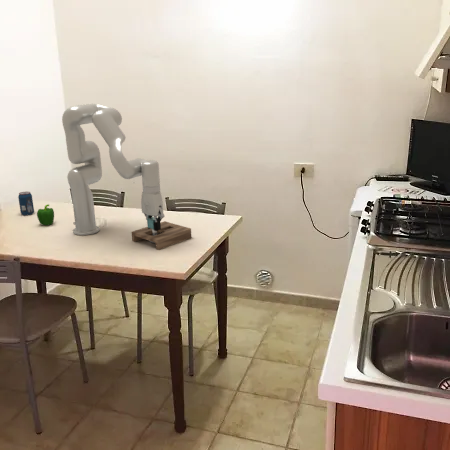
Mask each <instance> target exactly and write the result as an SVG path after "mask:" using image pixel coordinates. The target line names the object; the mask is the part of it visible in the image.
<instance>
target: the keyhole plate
mask: <svg viewBox="0 0 450 450" xmlns="http://www.w3.org/2000/svg"><path fill="white" fill-rule="evenodd" d="M160 224H161V229H160V230H157V235H155V236H152V229H151V228H150V229H148V226H146V227H142V228H139V229H136V230H132V231H131V232H130V234H131V242H132V243H133V242H138V241H141V240H147V241H148V242H150V241H152V242H155V243H154V244H155V250H157V251H160V250H162V249H165V248H168V247H170V246H172V245H175V244H179V243H181V242H184V241H187V240H189V239H191V238H192V228H190V227H187V226H183V225H179V224H176V223H173V222H169V221H160Z"/></svg>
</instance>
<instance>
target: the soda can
mask: <svg viewBox="0 0 450 450" xmlns="http://www.w3.org/2000/svg"><path fill="white" fill-rule="evenodd" d="M17 198H18V205H19V209H20V214H21V215H22V216H26V217H27V216H28V217H29V216H33V214H34V213H35V207H34V202H33V195H32V193H31V191H21V192H19V193H18V197H17Z"/></svg>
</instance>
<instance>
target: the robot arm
mask: <svg viewBox="0 0 450 450" xmlns="http://www.w3.org/2000/svg"><path fill="white" fill-rule="evenodd" d="M61 120H62V121H61V122H62V127H63V130H64V135H65V143H66V150H67V151H66V152H67V157H68V161H69V162H70V163H72V164H74V165H80V164H83V165H80V166H75V167H73V168H71V169H70V170H69V171H68V173H67V176H66V178H67V182H68V185H69V188H70V191H71V194H70V195H71V200H72V208H73V214H74V215H73V216H74V222H73V225H74V226H75V228H73V230H72V233H73V234H74V235H76V236H89V235H90V236H91V235H93V234H94V235H95V234H97V233H98V232H99V231H100V230H101V229H100V226H98V225H97V222H96V213H95V204H94V195H93V191H92V190H91V188H90V187H89V186H90V185H93V184H95V183H98V182H99V181H100V180H102V178H103V177H102V176H103V169H102V167H103V166H102V160H101V159H102V158H101V152H100V148H99V146H98V145H97V144H96V142H94V141H92V140H86V135H85V131H84V130H83V128H82V125H87V124H93V126H94V128H96V130H97V131H98V133H99V134H100V136H101V137H102V139H103V140H104V141H105V143H106V144H107V145H108V147H109V148H108V153H109V158H110V163H111V164H112V166H113V168H114V169H115V170H116V172H117V173H118V175H119V176H120V177H121V178H123V179H124V180H131V179H134V178H138V177H141V179H142V180H141V182H142V191H141V192H142V193H141V199H140V200H141V201H140V205H141V213H142V214H143V215H144V216H145V220H146V221H147V219H148V218H152V217H154V219H155V222H154V230H155V231H157V230H160V229H161V224H160V223H161V222H162V219H164V218H166V217H165V213H164V202H163V197H162V193H161V183H160V182H161V181H160V179H161V178H160V167H159V162H158V161H157V160H153V159H152V160H151V159H150V160H148V159H147V160H146V159H144V158H135V159H130V160H127V158H126V157H125V155H124V153H123V151H122V145H123V143H124V142H125V141H126V135H125V134H124V132H123V131H122V129H121V128H120V125H121V124H122V122H123V121H122V120H123V118H122V114H121V112H120V111H119V110H117V109H116V108H113V107H110V106H105V105H102V104H99V103H98V104H97V103H86V104H78V105H77V104H76V105H73V106H70V107H68V108H66V109H65V111H64V112H63V114H62V116H61ZM146 227H148V224H146ZM148 229H150V228H148Z"/></svg>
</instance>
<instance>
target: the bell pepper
mask: <svg viewBox="0 0 450 450" xmlns="http://www.w3.org/2000/svg"><path fill="white" fill-rule="evenodd" d="M36 216H37V220H38V222H39V224H40V225H41V226H50V225H53V223H54V221H55V211H54V208H52V207H50V204H49V203H48V204H45V205H44V208H43V209H42V208H39V209H38V210H37V212H36Z"/></svg>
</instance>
